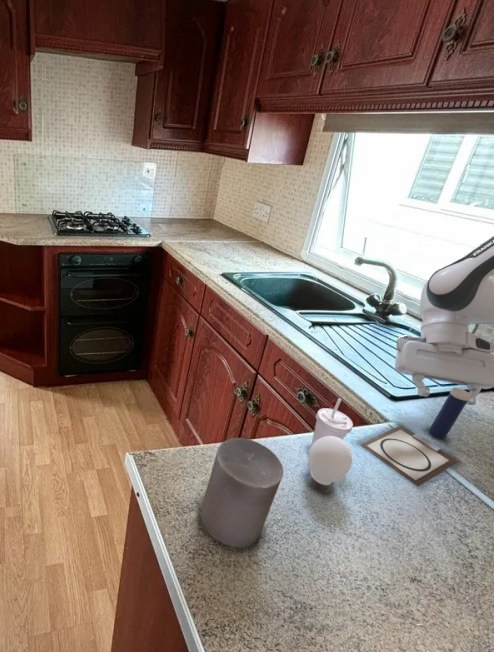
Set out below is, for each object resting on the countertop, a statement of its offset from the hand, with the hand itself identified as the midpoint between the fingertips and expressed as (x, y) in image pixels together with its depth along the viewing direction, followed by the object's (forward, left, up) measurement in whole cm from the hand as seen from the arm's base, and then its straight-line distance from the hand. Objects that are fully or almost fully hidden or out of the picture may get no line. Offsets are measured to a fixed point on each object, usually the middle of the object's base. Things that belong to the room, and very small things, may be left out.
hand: (446, 400), depth 90 cm
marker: (-2, +2, -8) cm, 9 cm away
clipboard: (-3, +15, -8) cm, 17 cm away
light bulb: (0, +41, -8) cm, 42 cm away
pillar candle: (+1, +62, -8) cm, 62 cm away
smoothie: (+5, +34, -8) cm, 35 cm away
